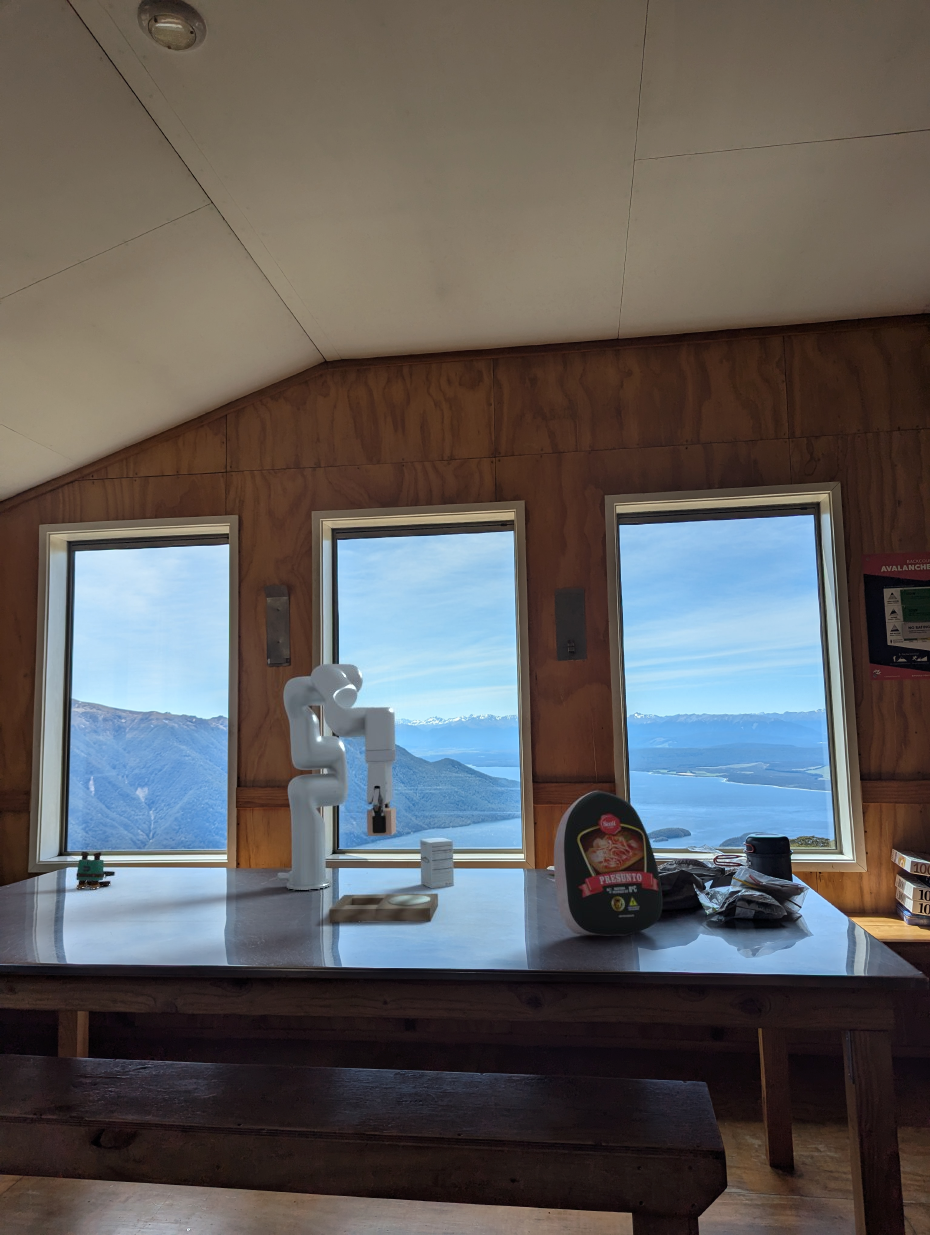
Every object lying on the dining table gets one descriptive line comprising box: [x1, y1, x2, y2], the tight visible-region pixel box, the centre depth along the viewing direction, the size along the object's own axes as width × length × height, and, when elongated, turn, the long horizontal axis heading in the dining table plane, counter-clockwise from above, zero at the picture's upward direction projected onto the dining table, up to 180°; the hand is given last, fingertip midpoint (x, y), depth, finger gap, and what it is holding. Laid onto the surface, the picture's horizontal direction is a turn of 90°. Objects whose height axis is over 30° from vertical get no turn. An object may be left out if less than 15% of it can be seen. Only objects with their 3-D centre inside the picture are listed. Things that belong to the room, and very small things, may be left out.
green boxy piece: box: [75, 851, 116, 889], centre depth 253 cm, size 9×10×10 cm
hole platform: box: [328, 893, 439, 923], centre depth 207 cm, size 24×16×3 cm, turn 86°
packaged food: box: [553, 790, 663, 937], centre depth 184 cm, size 22×20×30 cm
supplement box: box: [419, 836, 455, 889], centre depth 241 cm, size 7×7×13 cm
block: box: [366, 807, 397, 837], centre depth 209 cm, size 6×6×6 cm
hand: (382, 830), depth 209 cm, fingers closed on block, 6 cm apart
